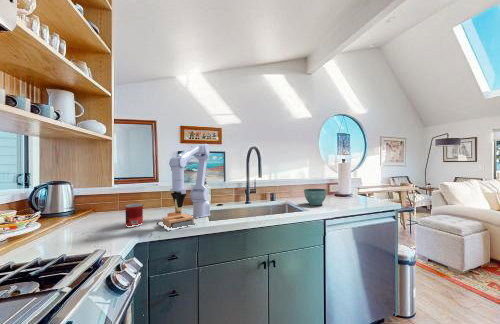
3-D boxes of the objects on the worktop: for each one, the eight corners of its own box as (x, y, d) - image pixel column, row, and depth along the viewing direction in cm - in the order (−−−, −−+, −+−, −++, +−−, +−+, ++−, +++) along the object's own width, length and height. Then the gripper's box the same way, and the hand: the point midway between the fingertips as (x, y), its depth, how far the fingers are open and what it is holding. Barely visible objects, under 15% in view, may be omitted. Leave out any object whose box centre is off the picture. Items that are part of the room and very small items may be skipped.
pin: (180, 211, 110) (180, 198, 110) (182, 212, 108) (181, 199, 108) (174, 212, 109) (174, 199, 109) (176, 213, 106) (175, 199, 106)
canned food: (146, 223, 114) (145, 203, 114) (134, 228, 107) (134, 206, 107) (134, 223, 116) (134, 203, 116) (122, 227, 109) (121, 205, 109)
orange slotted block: (185, 219, 118) (185, 210, 118) (193, 223, 109) (193, 213, 109) (162, 223, 110) (162, 213, 110) (169, 228, 101) (169, 217, 101)
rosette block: (182, 218, 123) (182, 213, 123) (196, 225, 109) (196, 219, 109) (157, 223, 114) (156, 218, 114) (168, 231, 100) (168, 225, 100)
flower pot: (299, 203, 161) (299, 189, 161) (316, 201, 167) (315, 187, 168) (314, 207, 146) (314, 191, 146) (332, 205, 153) (331, 189, 153)
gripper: (165, 180, 112) (166, 205, 111) (175, 181, 100) (176, 210, 100) (178, 179, 116) (179, 204, 116) (189, 180, 105) (190, 207, 105)
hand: (178, 206), depth 108 cm, fingers closed on pin, 3 cm apart
